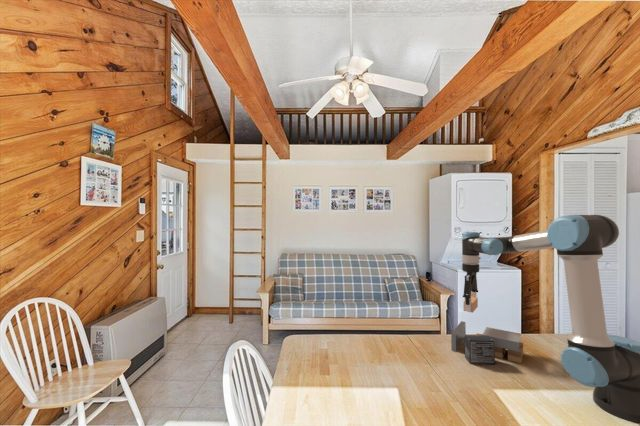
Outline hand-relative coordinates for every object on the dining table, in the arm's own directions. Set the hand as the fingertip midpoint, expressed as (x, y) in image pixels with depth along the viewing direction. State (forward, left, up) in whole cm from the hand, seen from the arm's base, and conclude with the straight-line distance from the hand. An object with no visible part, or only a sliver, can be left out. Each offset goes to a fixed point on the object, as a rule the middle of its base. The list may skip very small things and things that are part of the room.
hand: (470, 308), depth 149 cm
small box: (-14, -6, -19) cm, 24 cm away
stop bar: (0, +5, -19) cm, 19 cm away
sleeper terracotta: (0, 0, 0) cm, 0 cm away
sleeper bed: (0, -12, -19) cm, 22 cm away
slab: (0, -13, -14) cm, 19 cm away
